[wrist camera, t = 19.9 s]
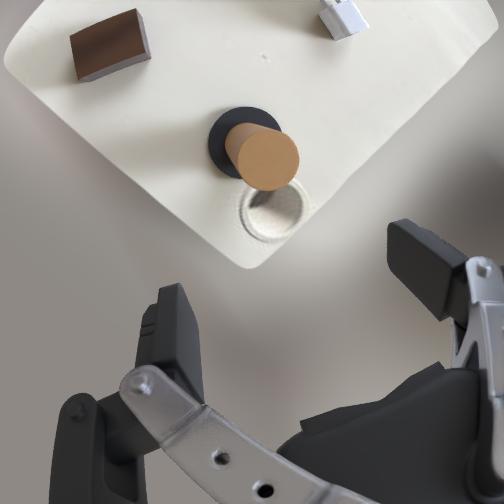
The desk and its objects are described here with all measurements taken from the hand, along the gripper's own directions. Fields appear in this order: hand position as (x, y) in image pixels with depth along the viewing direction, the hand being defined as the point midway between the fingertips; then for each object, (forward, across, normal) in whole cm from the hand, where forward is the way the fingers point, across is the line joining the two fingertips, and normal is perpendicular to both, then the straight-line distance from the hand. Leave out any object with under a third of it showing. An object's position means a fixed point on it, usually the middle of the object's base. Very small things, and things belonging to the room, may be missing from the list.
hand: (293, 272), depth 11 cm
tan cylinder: (+25, -3, +4) cm, 26 cm away
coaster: (+28, -3, -1) cm, 28 cm away
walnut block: (+28, +9, -17) cm, 34 cm away
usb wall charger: (+28, -18, -16) cm, 36 cm away
